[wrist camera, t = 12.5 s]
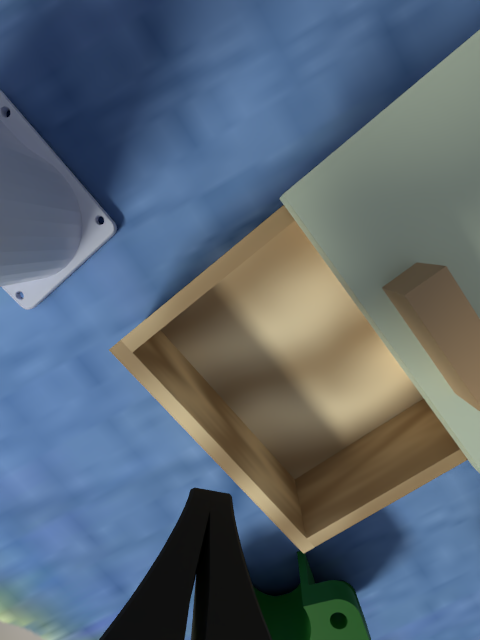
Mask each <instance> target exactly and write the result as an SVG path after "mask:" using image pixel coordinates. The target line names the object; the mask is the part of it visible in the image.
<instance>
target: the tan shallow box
mask: <svg viewBox="0 0 480 640" xmlns="http://www.w3.org/2000/svg"><path fill="white" fill-rule="evenodd" d="M109 351H110V352H111V353H112V354H113V355H114V356H115V357H116V358H117V359H118V360H119V361H120V362H121V363H122V364H123V365H124V366H125V367H126V368H127V369H128V370H129V372H130V373H131V374H132V375H133V376H134V377H135V378H136V379H137V380H138V381H139V382H140V383H141V384H142V385H143V386H144V387H145V388H146V389H147V390H148V391H149V392H150V394H151V395H152V396H153V397H154V398H155V399H156V400H157V401H158V402H159V403H160V404H161V405H162V406H163V407H164V408H165V409H166V410H167V411H168V412H169V413H170V414H171V416H172V417H173V418H174V419H175V420H176V421H177V422H178V423H179V424H180V425H181V426H182V427H183V428H184V429H185V430H186V431H187V432H188V433H189V434H190V435H191V436H192V438H193V439H194V440H195V441H196V442H197V443H198V444H199V445H200V446H201V447H202V448H203V449H204V450H205V451H206V452H207V453H208V454H209V455H210V456H211V457H212V458H213V460H214V461H215V462H216V463H217V464H218V465H219V466H220V467H221V468H222V469H223V470H224V471H225V472H226V473H227V474H228V475H229V476H230V477H231V478H232V479H233V480H234V482H235V483H236V484H237V485H238V486H239V487H240V488H241V489H242V490H243V491H244V492H245V493H246V494H247V495H248V496H249V497H250V498H251V499H252V500H253V501H254V502H255V503H256V505H257V506H258V507H259V508H260V509H261V510H262V511H263V512H264V513H265V514H266V515H267V516H268V517H269V518H270V519H271V520H272V521H273V522H274V523H275V524H276V525H277V527H278V528H279V529H280V530H281V531H282V532H283V533H284V534H285V535H286V536H287V537H288V538H289V539H290V540H291V541H292V542H293V543H294V544H295V545H296V546H297V547H298V549H299V550H300V551H301V552H302V553H303V554H304V553H306V552H307V551H309V550H311V549H313V548H314V547H316V546H318V545H320V544H321V543H323V542H325V541H327V540H328V539H330V538H332V537H333V536H335V535H337V534H339V533H340V532H342V531H344V530H346V529H347V528H349V527H351V526H353V525H354V524H356V523H358V522H360V521H361V520H363V519H365V518H367V517H368V516H370V515H372V514H374V513H375V512H377V511H379V510H381V509H382V508H384V507H386V506H388V505H389V504H391V503H393V502H395V501H396V500H398V499H400V498H402V497H403V496H405V495H407V494H409V493H410V492H412V491H414V490H415V489H417V488H419V487H421V486H422V485H424V484H426V483H428V482H429V481H431V480H433V479H435V478H436V477H438V476H440V475H442V474H443V473H445V472H447V471H449V470H450V469H452V468H454V467H456V466H457V465H459V464H461V463H463V462H464V461H466V460H468V459H467V458H466V456H465V455H464V453H463V452H462V451H461V449H460V448H459V447H458V445H457V444H456V442H455V441H454V440H453V438H452V437H451V435H450V434H449V433H448V431H447V430H446V429H445V427H444V426H443V424H442V423H441V422H440V420H439V419H438V417H437V416H436V415H435V413H434V412H433V411H432V409H431V408H430V406H429V405H428V404H427V402H426V401H425V400H424V398H423V397H422V395H421V394H420V393H419V391H418V390H417V388H416V387H415V386H414V384H413V383H412V382H411V380H410V379H409V377H408V376H407V375H406V373H405V372H404V370H403V369H402V368H401V366H400V365H399V364H398V362H397V361H396V359H395V358H394V357H393V355H392V354H391V352H390V351H389V350H388V348H387V347H386V346H385V344H384V343H383V341H382V340H381V339H380V337H379V336H378V334H377V333H376V332H375V330H374V329H373V328H372V326H371V325H370V323H369V322H368V321H367V319H366V318H365V316H364V315H363V314H362V312H361V311H360V310H359V308H358V307H357V305H356V304H355V303H354V301H353V300H352V298H351V297H350V296H349V294H348V293H347V292H346V290H345V289H344V287H343V286H342V285H341V283H340V282H339V281H338V279H337V278H336V276H335V275H334V274H333V272H332V271H331V269H330V268H329V267H328V265H327V264H326V263H325V261H324V260H323V258H322V257H321V256H320V254H319V253H318V251H317V250H316V249H315V247H314V246H313V245H312V243H311V242H310V240H309V239H308V238H307V236H306V235H305V233H304V232H303V231H302V229H301V228H300V227H299V225H298V224H297V222H296V221H295V220H294V218H293V217H292V215H291V214H290V213H289V211H288V210H287V209H286V207H285V206H284V205H283V206H282V207H281V208H279V209H278V210H277V211H276V212H275V213H273V214H272V215H271V216H270V217H269V218H267V219H266V220H265V221H264V222H263V223H261V224H260V225H259V226H258V227H257V228H255V229H254V230H253V231H252V232H250V233H249V234H248V235H247V236H246V237H244V238H243V239H242V240H241V241H240V242H238V243H237V244H236V245H235V246H234V247H232V248H231V249H230V250H229V251H228V252H226V253H225V254H224V255H223V256H222V257H220V258H219V259H218V260H217V261H216V262H214V263H213V264H212V265H211V266H209V267H208V268H207V269H206V270H205V271H203V272H202V273H201V274H200V275H199V276H197V277H196V278H195V279H194V280H193V281H191V282H190V283H189V284H188V285H187V286H185V287H184V288H183V289H182V290H181V291H179V292H178V293H177V294H176V295H175V296H173V297H172V298H171V299H170V300H169V301H167V302H166V303H165V304H164V305H162V306H161V307H160V308H159V309H158V310H156V311H155V312H154V313H153V314H152V315H150V316H149V317H148V318H147V319H146V320H144V321H143V322H142V323H141V324H140V325H138V326H137V327H136V328H135V329H134V330H132V331H131V332H130V333H129V334H128V335H126V336H125V337H124V338H123V339H121V340H120V341H119V342H118V343H117V344H115V345H114V346H113V347H112V348H111V349H109Z"/></svg>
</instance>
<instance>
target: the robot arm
mask: <svg viewBox="0 0 480 640" xmlns="http://www.w3.org/2000/svg"><path fill="white" fill-rule="evenodd" d="M8 110H10V113H11V114H10V116H9V117H8V118H7V115H6V113H7V111H8ZM100 216H102V217H103V218H104V223H103V224H102V225H101V224H99V222H98V219H99V217H100ZM116 231H117V226H116V224H115V222H114V221H113V220H112V219H111V217H110V216H109V215H108V214H107V213H106V212H105V210H104V209H103V208H102V207H101V206H100V205H99V203H98V202H97V201H96V200H95V199H94V198H93V196H92V195H91V194H90V193H89V192H88V191H87V189H86V188H85V187H84V186H83V185H82V184H81V182H80V181H79V180H78V179H77V178H76V177H75V175H74V174H73V173H72V172H71V171H70V170H69V168H68V167H67V166H66V165H65V164H64V163H63V162H62V160H61V159H60V158H59V157H58V156H57V155H56V153H55V152H54V151H53V150H52V149H51V148H50V146H49V145H48V144H47V143H46V142H45V141H44V139H43V138H42V137H41V136H40V135H39V134H38V132H37V131H36V130H35V129H34V128H33V127H32V125H31V124H30V123H29V122H28V121H27V120H26V118H25V117H24V116H23V115H22V114H21V113H20V111H19V110H18V109H17V108H16V107H15V106H14V104H13V103H12V102H11V101H10V100H9V99H8V97H7V96H6V95H5V94H4V93H3V92H2V91H1V90H0V287H2V288H3V289H4V290H5V291H6V292H7V293H8V294H9V295H10V296H11V297H12V298H13V299H14V300H15V301H16V302H17V303H18V304H19V305H20V306H21V307H22V308H24V309H32V308H35V307H36V306H37V305H38V304H39V303H40V302H42V301H43V300H44V299H45V298H46V297H47V296H48V295H49V294H50V293H51V292H52V291H54V290H55V289H56V288H57V287H58V286H59V285H60V284H61V283H62V282H63V281H64V280H65V279H67V278H68V277H69V276H70V275H71V274H72V273H73V272H74V271H75V270H76V269H77V268H79V267H80V266H81V265H82V264H83V263H84V262H85V261H86V260H87V259H88V258H89V257H91V256H92V255H93V254H94V253H95V252H96V251H97V250H98V249H99V248H100V247H101V246H102V245H104V244H105V243H106V242H107V241H108V240H109V239H110V238H111V237H112V236H113V235H114V234H115V233H116ZM20 292H22V293H23V294H24V298H22V297H21V295H20ZM195 577H196V583H195V596H194V609H193V621H192V634H191V640H272V638H271V635H270V632H269V630H268V627H267V625H266V622H265V620H264V617H263V614H262V611H261V609H260V606H259V603H258V600H257V597H256V594H255V591H254V588H253V585H252V582H251V579H250V576H249V572H248V569H247V566H246V562H245V558H244V555H243V551H242V547H241V544H240V540H239V535H238V531H237V526H236V521H235V516H234V510H233V503H232V497H231V495H230V494H227V493H222V492H216V491H210V490H205V489H199V488H193V489H191V490H190V494H189V497H188V500H187V502H186V505H185V507H184V509H183V511H182V514H181V516H180V518H179V520H178V522H177V524H176V526H175V527H174V529H173V531H172V533H171V535H170V536H169V538H168V540H167V542H166V544H165V545H164V547H163V549H162V551H161V552H160V554H159V555H158V557H157V559H156V560H155V562H154V563H153V565H152V566H151V568H150V570H149V571H148V573H147V574H146V576H145V577H144V579H143V580H142V582H141V583H140V585H139V586H138V588H137V589H136V591H135V592H134V594H133V595H132V596H131V598H130V599H129V601H128V602H127V603H126V605H125V606H124V608H123V609H122V610H121V612H120V613H119V614H118V616H117V617H116V618H115V620H114V621H113V622H112V624H111V625H110V626H109V627H108V629H107V630H106V631H105V633H104V634H103V635H102V637H101V638H100V639H99V640H184V638H185V631H186V624H187V617H188V610H189V603H190V598H191V594H192V590H193V585H194V581H195Z"/></svg>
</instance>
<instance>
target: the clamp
mask: <svg viewBox="0 0 480 640" xmlns="http://www.w3.org/2000/svg"><path fill="white" fill-rule="evenodd" d="M297 555H298V564H299V574H300V584H299V586H298V587H297V588H296V589H295V590H294V591H292V592H291V593H288V594H283V595H279V596H270V595H267V594H264V593H262V592H260V591H259V590H257V589H256V588H255V587H254V586H253V588H254V591H255V594H256V597H257V600H258V603H259V606H260V609H261V611H262V614H263V617H264V620H265V622H266V625H267V627H268V630H269V632H270V635H271V638H272V640H371V637H370V634H369V631H368V628H367V624H366V621H365V618H364V615H363V612H362V609H361V606H360V604H359V601H358V598H357V595H356V592H355V590H354V588H353V587H352V586H351V585H350V584H349V583H347V582H345V581H338V580H329V581H325V582H321V583H315V580H314V577H313V575H312V572H311V569H310V566H309V563H308V560H307V557H306V554H305V553H304V554H303V553H302V552H301V551H299V552H297Z"/></svg>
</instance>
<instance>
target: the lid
mask: <svg viewBox="0 0 480 640" xmlns="http://www.w3.org/2000/svg"><path fill="white" fill-rule="evenodd" d="M280 200H281V202H282V203H283V204H284V206H285V207H286V209H287V210H288V211H289V213H290V214H291V215H292V217H293V218H294V220H295V221H296V222H297V224H298V225H299V227H300V228H301V229H302V231H303V232H304V233H305V235H306V236H307V238H308V239H309V240H310V242H311V243H312V245H313V246H314V247H315V249H316V250H317V251H318V253H319V254H320V256H321V257H322V258H323V260H324V261H325V263H326V264H327V265H328V267H329V268H330V269H331V271H332V272H333V274H334V275H335V276H336V278H337V279H338V281H339V282H340V283H341V285H342V286H343V287H344V289H345V290H346V292H347V293H348V294H349V296H350V297H351V298H352V300H353V301H354V303H355V304H356V305H357V307H358V308H359V310H360V311H361V312H362V314H363V315H364V316H365V318H366V319H367V321H368V322H369V323H370V325H371V326H372V328H373V329H374V330H375V332H376V333H377V334H378V336H379V337H380V339H381V340H382V341H383V343H384V344H385V346H386V347H387V348H388V350H389V351H390V352H391V354H392V355H393V357H394V358H395V359H396V361H397V362H398V364H399V365H400V366H401V368H402V369H403V370H404V372H405V373H406V375H407V376H408V377H409V379H410V380H411V382H412V383H413V384H414V386H415V387H416V388H417V390H418V391H419V393H420V394H421V395H422V397H423V398H424V400H425V401H426V402H427V404H428V405H429V406H430V408H431V409H432V411H433V412H434V413H435V415H436V416H437V417H438V419H439V420H440V422H441V423H442V424H443V426H444V427H445V429H446V430H447V431H448V433H449V434H450V435H451V437H452V438H453V440H454V441H455V442H456V444H457V445H458V447H459V448H460V449H461V451H462V452H463V453H464V455H465V456H466V458H467V459H468V460H469V462H470V463H471V465H472V466H473V467H474V468H475V469H476V470H477V471H478V472H479V473H480V30H479V31H477V32H476V33H475V34H474V35H473V36H471V37H470V38H469V39H468V40H467V41H465V42H464V43H463V44H462V45H461V46H459V47H458V48H457V49H456V50H455V51H453V52H452V53H451V54H450V55H449V56H448V57H446V58H445V59H444V60H443V61H442V62H440V63H439V64H438V65H437V66H436V67H434V68H433V69H432V70H431V71H430V72H428V73H427V74H426V75H425V76H424V77H422V78H421V79H420V80H419V81H418V82H416V83H415V84H414V85H413V86H412V87H411V88H409V89H408V90H407V91H406V92H405V93H403V94H402V95H401V96H400V97H399V98H397V99H396V100H395V101H394V102H393V103H391V104H390V105H389V106H388V107H387V108H385V109H384V110H383V111H382V112H381V113H379V114H378V115H377V116H376V117H375V118H373V119H372V120H371V121H370V122H369V123H368V124H366V125H365V126H364V127H363V128H362V129H360V130H359V131H358V132H357V133H356V134H354V135H353V136H352V137H351V138H350V139H348V140H347V141H346V142H345V143H344V144H342V145H341V146H340V147H339V148H338V149H336V150H335V151H334V152H333V153H332V154H331V155H329V156H328V157H327V158H326V159H325V160H323V161H322V162H321V163H320V164H319V165H317V166H316V167H315V168H314V169H313V170H311V171H310V172H309V173H308V174H307V175H305V176H304V177H303V178H302V179H301V180H299V181H298V182H297V183H296V184H295V185H293V186H292V187H291V188H290V189H289V190H288V191H286V192H285V193H284V194H283V195H282V196H281V197H280Z"/></svg>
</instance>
